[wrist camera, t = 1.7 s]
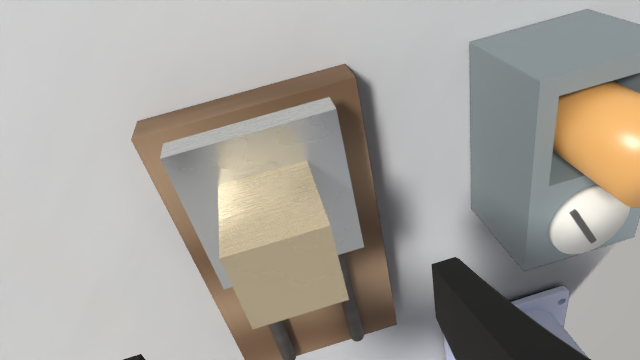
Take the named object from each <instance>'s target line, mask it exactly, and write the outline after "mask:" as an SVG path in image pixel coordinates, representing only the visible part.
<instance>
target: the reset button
mask: <svg viewBox="0 0 640 360" xmlns="http://www.w3.org/2000/svg"><path fill="white" fill-rule="evenodd" d="M553 152H554V153H556V154H557V155H558V156H560V157H561V158H563V159H564V160H565V161H567V162H568V163H569V164H571V165H572V166H573V167H575V168H576V169H577V170H579V171H580V172H581V173H583V174H584V175H586V176H587V177H588V178H590V179H591V180H592V181H594V182H595V183H596V184H598V185H599V186H600V187H602V188H603V189H604V190H606V191H607V192H608V193H610V194H611V195H613V196H614V197H615V198H617V199H618V200H619V201H621V202H622V203H623V204H625V205H627V206H629V207H632V208H640V93H638V92H635V91H633V90H631V89H629V88H627V87H624V86H622V85H620V84H618V83H616V82H613V81H610V82H606V83H603V84H599V85H596V86H592V87H589V88H585V89H582V90H578V91H575V92H572V93H568V94H565V95H561V96H559V101H558V110H557V119H556V127H555V136H554V145H553Z"/></svg>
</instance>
